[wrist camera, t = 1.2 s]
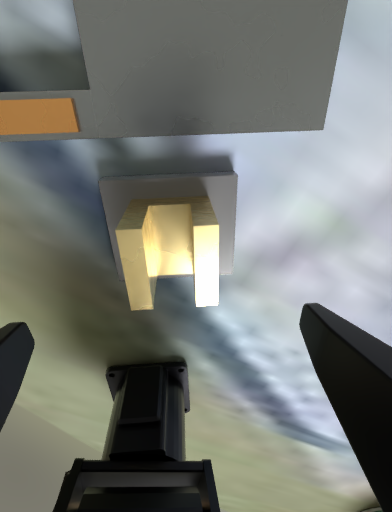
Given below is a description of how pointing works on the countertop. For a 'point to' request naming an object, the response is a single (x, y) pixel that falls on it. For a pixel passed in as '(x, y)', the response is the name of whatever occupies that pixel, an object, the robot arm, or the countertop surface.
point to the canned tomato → (373, 510)
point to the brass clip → (169, 247)
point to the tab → (169, 186)
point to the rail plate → (189, 71)
